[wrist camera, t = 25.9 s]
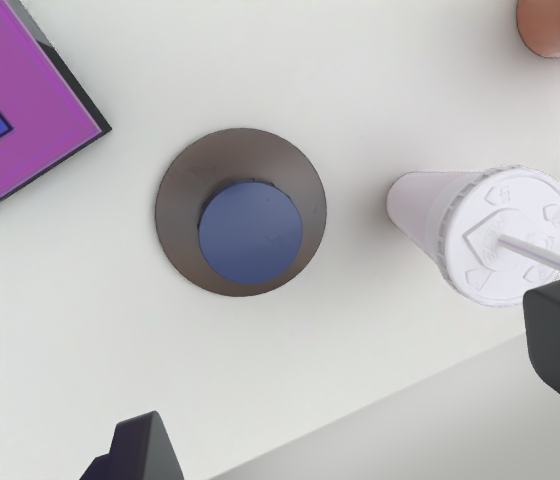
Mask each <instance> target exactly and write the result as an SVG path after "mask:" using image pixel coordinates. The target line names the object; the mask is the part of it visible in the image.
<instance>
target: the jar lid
mask: <svg viewBox="0 0 560 480" xmlns="http://www.w3.org/2000/svg"><path fill="white" fill-rule="evenodd" d="M232 181H233V182H230V183H228V184H226V185H224V186H222V187H221V188H219V189H218V190H214V191H215V192H214V193H213V194H212V195H211V197H210V198H209V199H208V200H207V202H206V203H205V205H204V206H202V212H201V214H200V218H199V225H197V230H198V235H199V246H200V250H201V251H202V254H203V256H204V258H205V259H206V261H207V262H208V264H209V265H210V267H212V268H213V269H214V270H215V271H216V272H217V273H218V274H220V275H221V276H223V277H225V278H227V279H229V280H232V281H235V282H239V283H249V284H251V283H259V282H264V281H267V280H269V279H272V278H274V277H276V276H277V275H279V274H280V273H282V272H283V271H284V270H285V269H286V268H287V267H288V266H289V265H290V264H291V263H292V261H293V260H294V259H295V257H296V255H297V253H298V251H299V248H300V245H301V241H302V222H301V218H300V217H301V216H300V215H299V212H298V210H297V208H296V206H295V205H294V203H293V202H292V201H291V198H290V197H289V196H288V195H286V194H284V193H283V192H282V191H281V190H280V189H278V188H277V187H276V185H275V184H273V183H272V184H270V183H268V182H265V181H262V180H257V179H255V178H253V179H242V180H236V181H234V180H232Z"/></svg>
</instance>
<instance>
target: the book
mask: <svg viewBox="0 0 560 480" xmlns="http://www.w3.org/2000/svg"><path fill="white" fill-rule="evenodd" d="M110 130H112V128H111V127H110V125H109V124H108V122H107V121H106V120H105V118H104V117H103V116H102V114H101V113H100V111H99V110H98V109H97V107H96V106H95V104H94V103H93V102H92V100H91V99H90V98H89V96H88V95H87V93H86V92H85V91H84V89H83V88H82V87H81V85H80V84H79V82H78V81H77V80H76V78H75V77H74V75H73V74H72V73H71V71H70V70H69V69H68V67H67V66H66V64H65V63H64V62H63V60H62V59H61V57H60V56H59V55H58V53H57V52H56V51H55V49H54V48H53V46H52V45H51V44H50V42H49V41H48V40H47V38H46V37H45V35H44V34H43V33H42V31H41V30H40V28H39V27H38V26H37V24H36V23H35V22H34V20H33V19H32V17H31V16H30V15H29V13H28V12H27V10H26V9H25V8H24V6H23V5H22V4H21V2H20V1H19V0H0V202H1V201H3V200H5V199H6V198H8V197H9V196H11V195H12V194H14V193H15V192H17V191H18V190H20V189H21V188H23V187H25V186H26V185H28V184H29V183H31V182H32V181H34V180H35V179H37V178H38V177H40V176H41V175H43V174H44V173H46V172H48V171H49V170H51V169H52V168H54V167H55V166H57V165H58V164H60V163H61V162H63V161H64V160H66V159H68V158H69V157H71V156H72V155H74V154H75V153H77V152H78V151H80V150H81V149H83V148H84V147H86V146H87V145H89V144H91V143H92V142H94V141H95V140H97V139H98V138H100V137H101V136H103V135H104V134H106V133H107V132H109V131H110Z"/></svg>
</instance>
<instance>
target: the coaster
mask: <svg viewBox="0 0 560 480" xmlns="http://www.w3.org/2000/svg"><path fill="white" fill-rule="evenodd" d="M253 178H255V179H257V180H262V181H265V182H268V183H270V184H272V183H273V184H275V185H276V187H277V188H278V189H280V190H281V191H282V192H283V193H284V194H286V195H288V196H289V197H290V198H291V201H292V202H293V203H294V205H295V206H296V208H297V210H298V212H299V215H300V216H301V217H300V218H301V222H302V241H301V245H300V248H299V251H298V253H297V255H296V257H295V259H294V260H293V261H292V263H291V264H290V265H289V266H288V267H287V268H286V269H285V270H284V271H283V272H282V273H280V274H279V275H277V276H276V277H274V278H272V279H269V280H267V281H264V282H259V283H251V284H249V283H239V282H235V281H232V280H229V279H227V278H225V277H223V276H221V275H220V274H218V273H217V272H216V271H215V270H214V269H213V268H212V267H210V265H209V264H208V262H207V261H206V259H205V258H204V256H203V254H202V251H201V250H200V246H199V235H198V230H197V225H199V218H200V214H201V212H202V206H204V205H205V203H206V202H207V200H208V199H209V198H210V197H211V195H212V194H213V193H214V192H215V191H214V190H218V189H219V188H221V187H222V186H224V185H226V184H228V183H230V182H233V181H232V180H234V181H236V180H242V179H253ZM326 215H327V213H326V199H325V193H324V189H323V186H322V183H321V180H320V178H319V176H318V174H317V172H316V170H315V169H314V167H313V165H312V164H311V162H310V161H309V160H308V159H307V157H306V156H305V155H304V154H303V153H302V152H301V151H300V150H299V149H298V148H296V147H295V146H294V145H292V144H291V143H289V142H288V141H287V140H285V139H283V138H281V137H279V136H277V135H274V134H271V133H269V132H266V131H261V130H257V129H249V128H233V129H226V130H221V131H217V132H214V133H211V134H208V135H206V136H204V137H202V138H200V139H198V140H197V141H195V142H194V143H192V144H191V145H189V146H188V147H187V148H186V149H185V150H183V151H182V152H181V153H180V154H179V155H178V156H177V158H176V159H175V160H174V161H173V162H172V164H171V165H170V167H169V168H168V170H167V172H166V173H165V175H164V178H163V180H162V182H161V184H160V187H159V191H158V194H157V199H156V206H155V221H156V229H157V233H158V237H159V241H160V243H161V245H162V248H163V250H164V252H165V254H166V255H167V257H168V259H169V260H170V262H171V263H172V264H173V266H174V267H175V268H176V269H177V270H178V271H179V272H180V273H181V274H182V275H183V276H184V277H185V278H187V279H188V280H189V281H191V282H192V283H194V284H195V285H197V286H199V287H201V288H203V289H205V290H208V291H210V292H213V293H216V294H220V295H226V296H233V297H245V296H254V295H258V294H263V293H266V292H269V291H272V290H274V289H276V288H278V287H280V286H282V285H284V284H286V283H287V282H289V281H290V280H292V279H293V278H294V277H295V276H296V275H298V274H299V273H300V272H301V271H302V270H303V269H304V268H305V267H306V265H307V264H308V263H309V262H310V260H311V259H312V257H313V256H314V254H315V253H316V251H317V249H318V247H319V245H320V242H321V239H322V237H323V233H324V229H325V224H326Z"/></svg>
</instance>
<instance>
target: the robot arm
mask: <svg viewBox="0 0 560 480" xmlns="http://www.w3.org/2000/svg"><path fill="white" fill-rule="evenodd" d="M523 310H524V319H525V327H526V336H527V345H528V353H529V358H530V361H531V364H532V365H533V368H534V369H535V371H536V373H537V374H538V375H539V377H540V378H541V379H542V380H543V381H544V382H545V383H546V384H547V385H549V386H550V387H551V388H553V389H554V390H555V391H557V392H558V393H559V394H560V280H558V281H554V282H551V283H548V284H545V285H542V286H539V287H536V288H533V289H530V290H527V291H526V292H525V293H524V295H523ZM79 480H184V477H183V473H182V470H181V468H180V465H179V463H178V460H177V458H176V455H175V452H174V450H173V447H172V445H171V442H170V440H169V437H168V434H167V432H166V429H165V427H164V424H163V422H162V419H161V417H160V415H159V414H158V412H157V411H152V412H149V413H146V414H143V415H140V416H137V417H134V418H131V419H128V420H125V421H122V422H119V423H118V424H117V425H116V428H115V432H114V436H113V440H112V444H111V447H110V451H109V453H108V454H105V455H102V456H99V457H96V458H95V459H94V460H93V462H92V463H91V464H90V466H89V467H88V468H87V470H86V471H85V473H84V474H83V475H82V477H81V478H80V479H79Z"/></svg>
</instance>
